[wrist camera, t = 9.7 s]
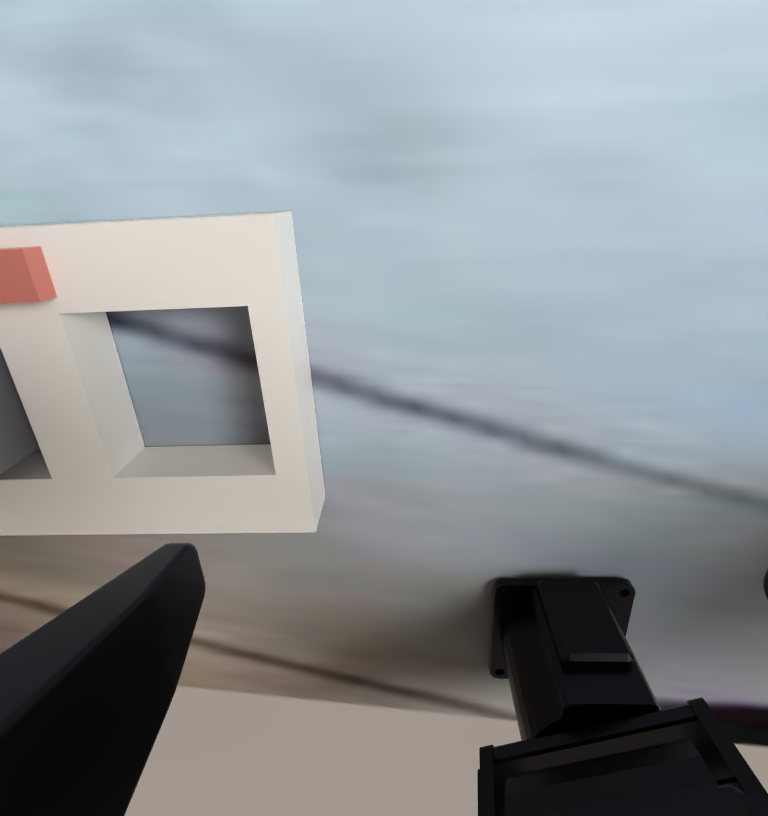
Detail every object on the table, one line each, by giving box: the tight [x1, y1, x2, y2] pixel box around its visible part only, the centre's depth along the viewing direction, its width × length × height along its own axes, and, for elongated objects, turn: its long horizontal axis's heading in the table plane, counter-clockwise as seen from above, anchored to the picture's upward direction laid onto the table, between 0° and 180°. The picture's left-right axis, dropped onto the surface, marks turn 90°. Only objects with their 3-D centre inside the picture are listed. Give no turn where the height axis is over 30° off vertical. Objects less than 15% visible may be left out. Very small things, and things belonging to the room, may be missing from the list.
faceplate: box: [0, 211, 325, 536], centre depth 18 cm, size 12×18×3 cm, turn 93°
